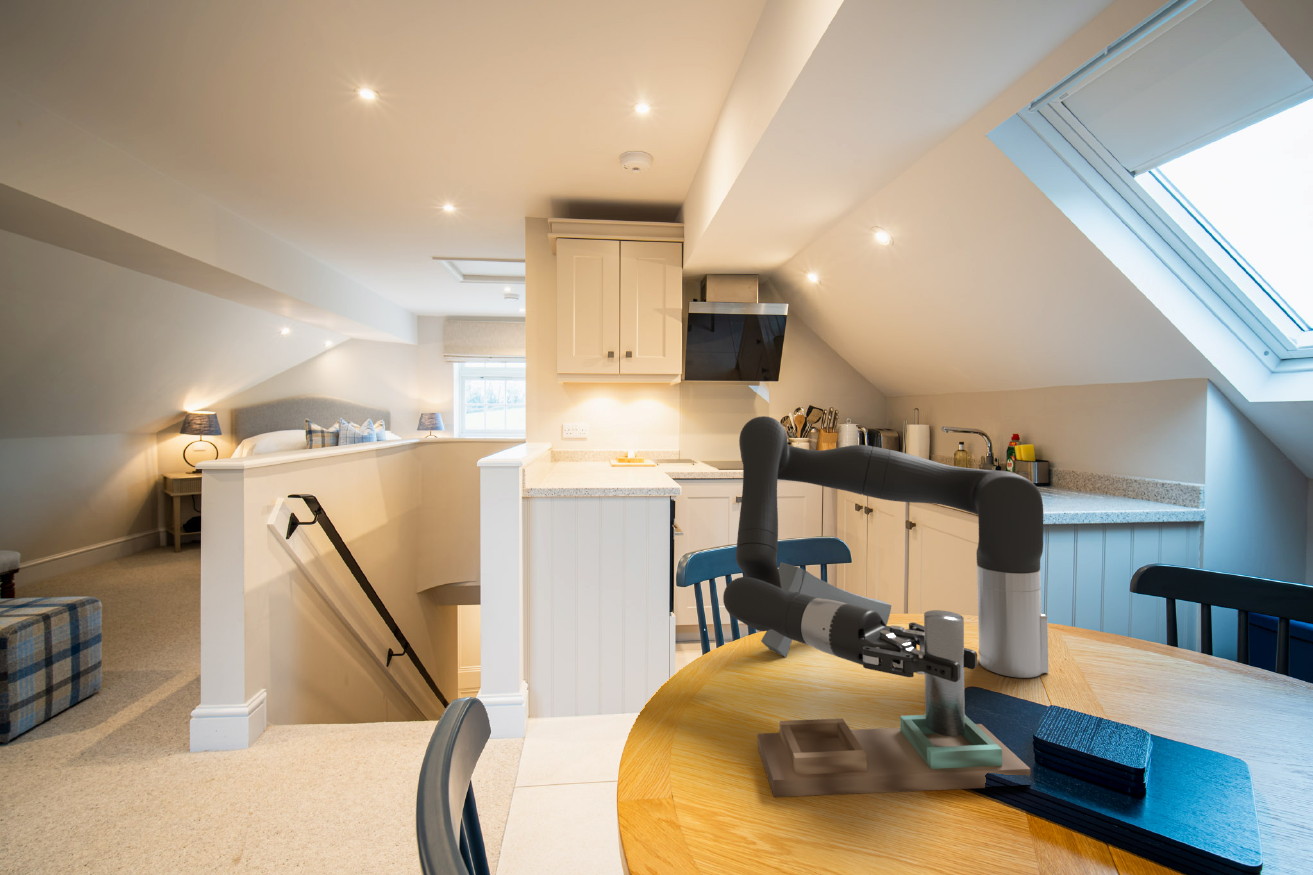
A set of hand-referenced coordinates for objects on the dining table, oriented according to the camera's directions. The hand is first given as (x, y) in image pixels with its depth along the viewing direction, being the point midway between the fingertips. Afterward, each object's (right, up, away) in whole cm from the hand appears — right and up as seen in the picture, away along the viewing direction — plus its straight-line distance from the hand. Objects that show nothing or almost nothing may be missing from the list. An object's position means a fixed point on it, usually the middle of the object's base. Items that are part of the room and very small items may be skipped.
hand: (967, 666), depth 70 cm
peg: (-2, -8, +2) cm, 9 cm away
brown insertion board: (-9, -13, +2) cm, 16 cm away
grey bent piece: (-4, -12, +44) cm, 46 cm away
